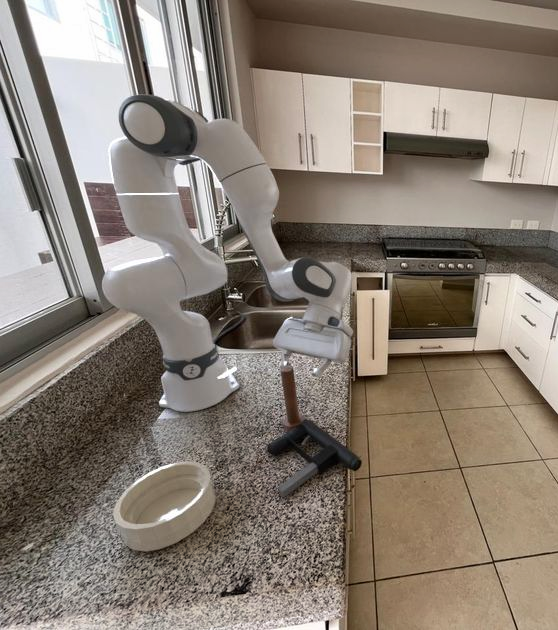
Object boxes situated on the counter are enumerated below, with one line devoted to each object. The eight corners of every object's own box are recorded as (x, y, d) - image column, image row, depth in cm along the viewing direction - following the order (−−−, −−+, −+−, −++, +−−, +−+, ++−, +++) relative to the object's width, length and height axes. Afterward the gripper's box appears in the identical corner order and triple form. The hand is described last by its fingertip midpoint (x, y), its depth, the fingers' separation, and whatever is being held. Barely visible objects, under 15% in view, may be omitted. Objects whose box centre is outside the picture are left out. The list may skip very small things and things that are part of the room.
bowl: (131, 502, 64) (122, 478, 62) (215, 474, 70) (209, 451, 68) (116, 570, 53) (104, 544, 51) (217, 530, 59) (210, 505, 57)
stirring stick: (281, 421, 86) (273, 366, 80) (302, 415, 88) (295, 361, 82) (285, 434, 82) (277, 376, 76) (307, 427, 84) (300, 371, 78)
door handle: (298, 507, 61) (366, 452, 72) (246, 452, 73) (311, 412, 84) (301, 519, 62) (367, 464, 74) (249, 463, 74) (313, 423, 85)
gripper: (280, 310, 89) (257, 360, 84) (349, 322, 83) (329, 377, 78) (293, 320, 95) (273, 368, 90) (359, 332, 88) (341, 384, 83)
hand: (299, 372), depth 84 cm, fingers open, 8 cm apart
